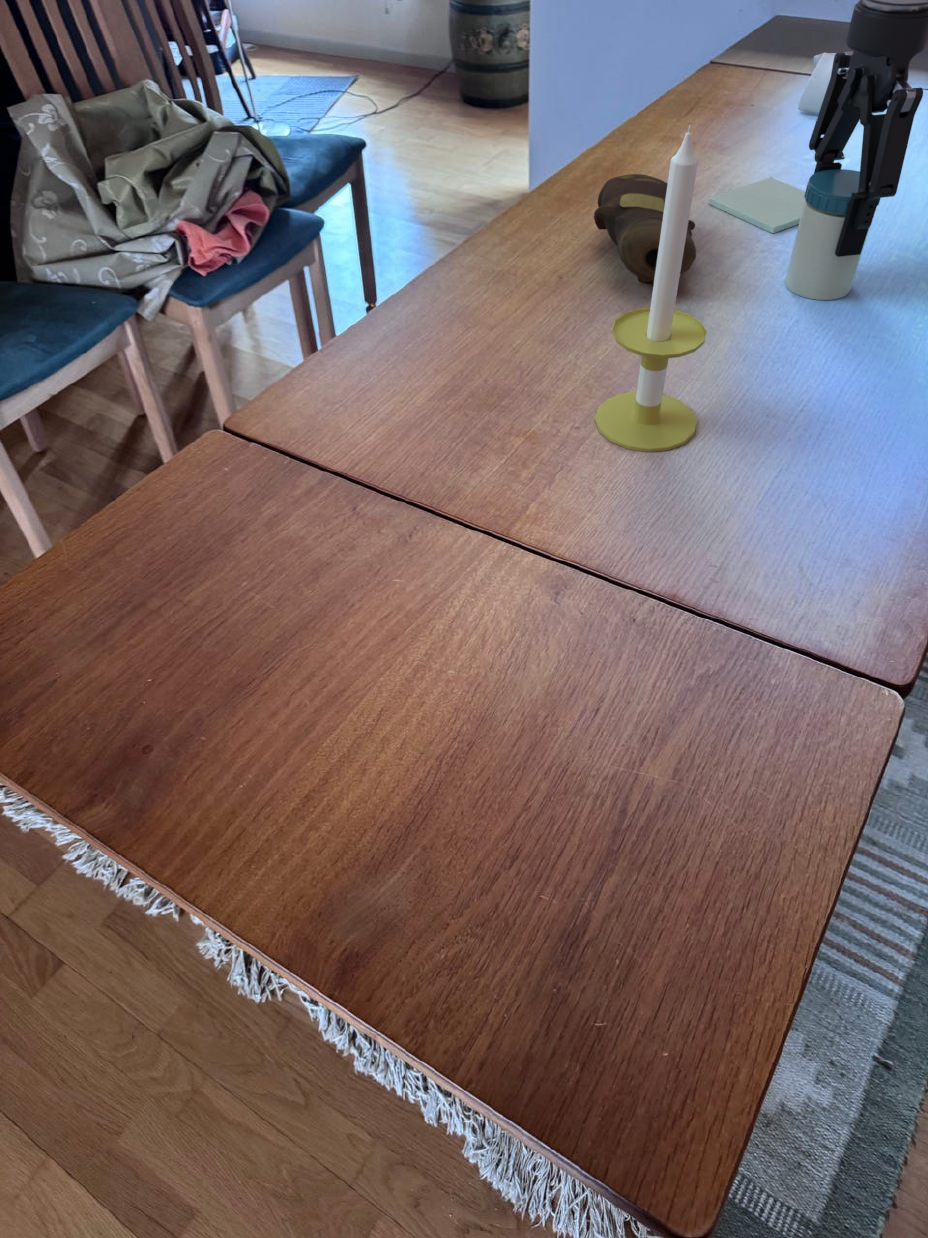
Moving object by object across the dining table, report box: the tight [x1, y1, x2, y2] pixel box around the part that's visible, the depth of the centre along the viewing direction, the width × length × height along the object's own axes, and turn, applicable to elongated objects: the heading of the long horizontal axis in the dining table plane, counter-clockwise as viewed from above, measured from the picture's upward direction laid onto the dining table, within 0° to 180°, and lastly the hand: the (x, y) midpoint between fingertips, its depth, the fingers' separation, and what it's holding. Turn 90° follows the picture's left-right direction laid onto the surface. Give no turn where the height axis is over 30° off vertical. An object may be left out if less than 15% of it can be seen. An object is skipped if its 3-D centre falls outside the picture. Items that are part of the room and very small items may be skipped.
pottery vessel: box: [593, 173, 697, 283], centre depth 107 cm, size 12×20×8 cm, turn 177°
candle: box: [594, 124, 707, 453], centre depth 77 cm, size 10×10×27 cm
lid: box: [804, 168, 882, 215], centre depth 97 cm, size 8×8×2 cm
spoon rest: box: [797, 52, 837, 115], centre depth 148 cm, size 24×12×7 cm, turn 148°
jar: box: [784, 200, 871, 301], centre depth 101 cm, size 8×8×11 cm
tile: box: [707, 176, 806, 234], centre depth 120 cm, size 12×12×1 cm
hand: (830, 237), depth 101 cm, fingers closed on lid, 8 cm apart
